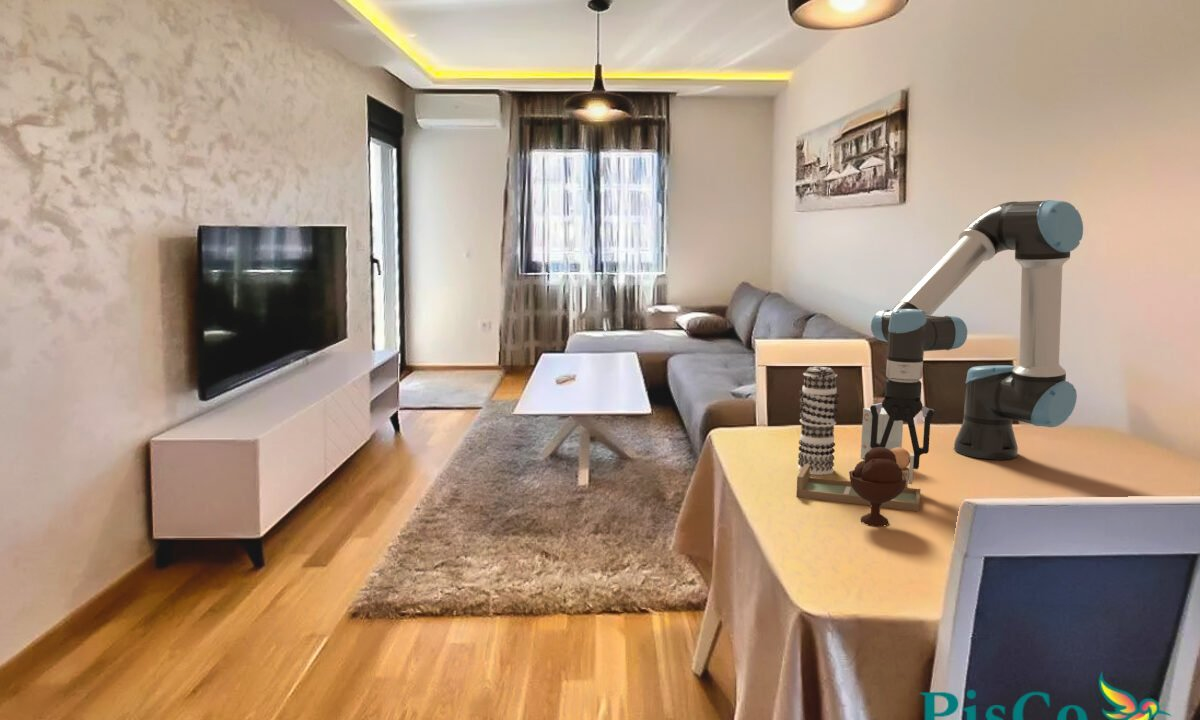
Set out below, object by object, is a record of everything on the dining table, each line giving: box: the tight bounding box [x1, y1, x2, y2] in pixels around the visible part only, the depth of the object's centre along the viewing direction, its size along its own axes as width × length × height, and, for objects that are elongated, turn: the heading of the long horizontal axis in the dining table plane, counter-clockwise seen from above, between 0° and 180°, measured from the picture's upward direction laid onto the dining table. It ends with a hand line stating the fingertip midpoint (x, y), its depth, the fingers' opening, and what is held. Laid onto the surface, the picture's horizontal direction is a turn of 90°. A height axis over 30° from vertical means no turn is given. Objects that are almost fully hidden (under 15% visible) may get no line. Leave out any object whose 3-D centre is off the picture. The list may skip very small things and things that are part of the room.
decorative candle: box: [797, 365, 840, 476], centre depth 202 cm, size 9×9×25 cm
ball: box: [890, 447, 911, 470], centre depth 189 cm, size 5×5×5 cm
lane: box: [795, 464, 921, 512], centre depth 184 cm, size 25×11×4 cm, turn 68°
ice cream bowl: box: [848, 447, 907, 527], centre depth 167 cm, size 11×11×15 cm
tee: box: [902, 465, 910, 488], centre depth 189 cm, size 4×4×5 cm
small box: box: [860, 407, 904, 459], centre depth 212 cm, size 8×6×13 cm
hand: (897, 480), depth 190 cm, fingers closed on ball, 5 cm apart
